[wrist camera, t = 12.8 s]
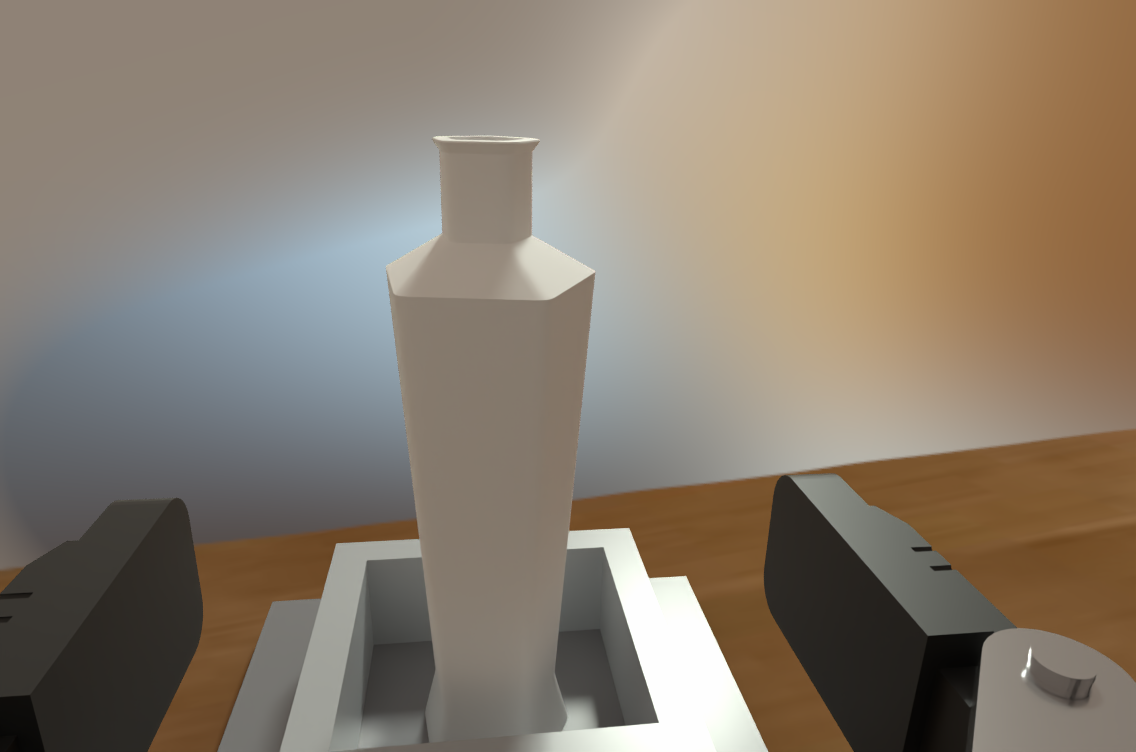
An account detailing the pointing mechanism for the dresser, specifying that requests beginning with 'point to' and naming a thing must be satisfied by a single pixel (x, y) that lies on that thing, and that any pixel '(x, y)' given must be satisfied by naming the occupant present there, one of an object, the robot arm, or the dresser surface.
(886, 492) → the dresser surface
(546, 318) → the perfume bottle
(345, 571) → the collar stand
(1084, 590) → the dresser surface
